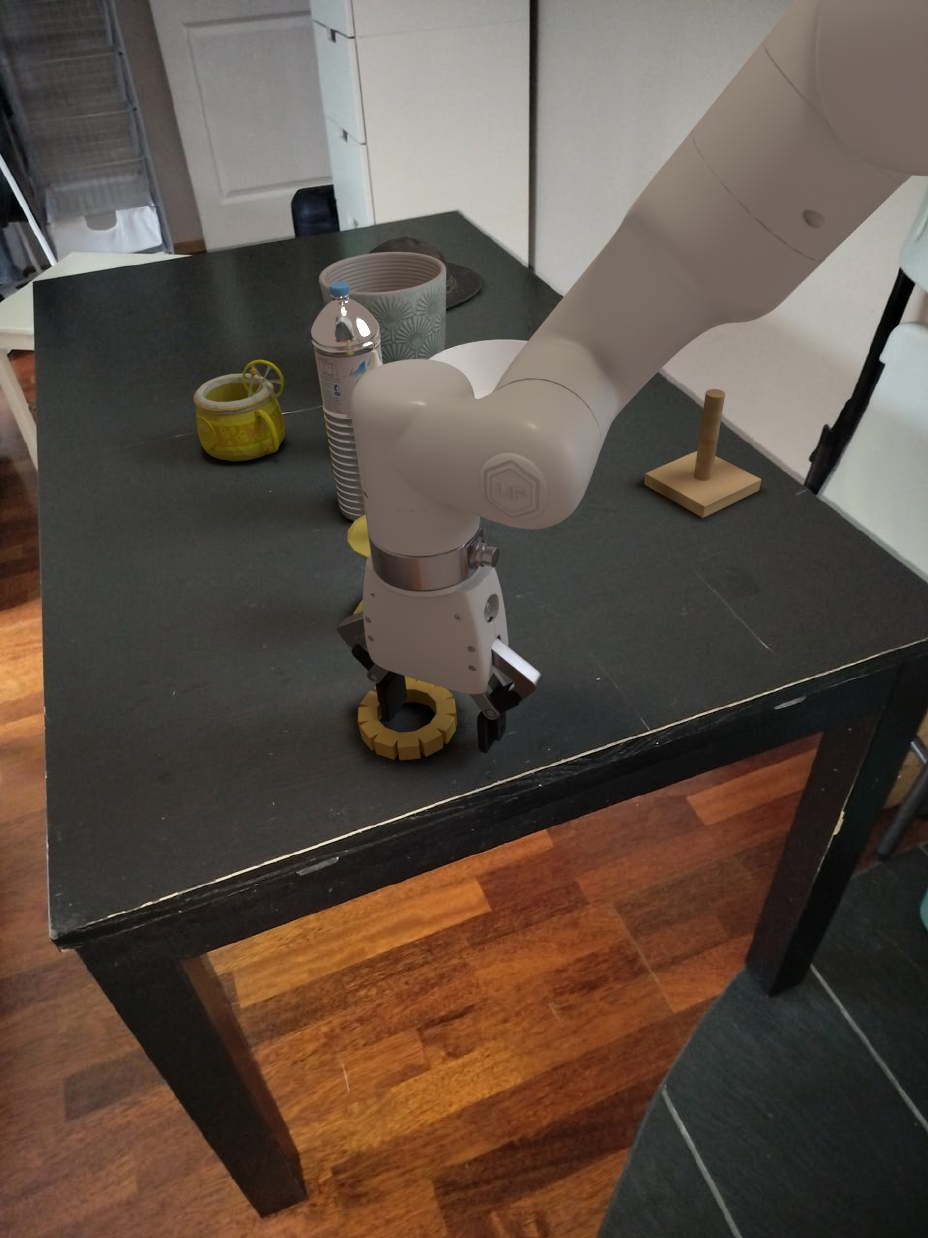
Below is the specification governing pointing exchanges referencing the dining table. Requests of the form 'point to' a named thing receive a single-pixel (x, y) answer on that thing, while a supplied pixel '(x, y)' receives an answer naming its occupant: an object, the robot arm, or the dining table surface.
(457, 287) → the hat
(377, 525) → the robot arm
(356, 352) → the water bottle
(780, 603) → the dining table surface
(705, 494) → the peg stand
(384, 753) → the ring
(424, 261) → the planter
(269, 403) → the mug
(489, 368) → the bowl
